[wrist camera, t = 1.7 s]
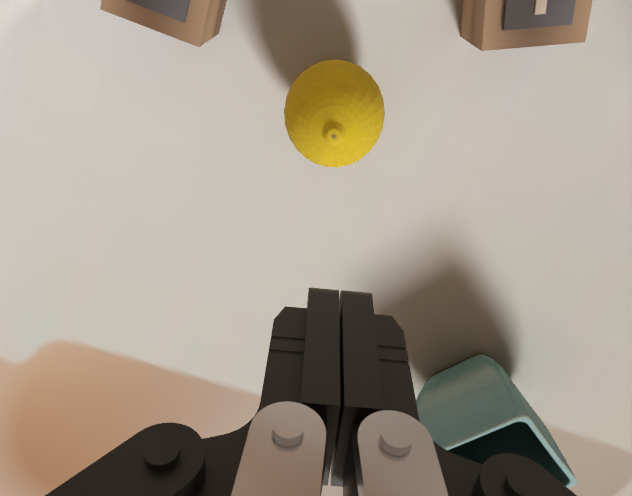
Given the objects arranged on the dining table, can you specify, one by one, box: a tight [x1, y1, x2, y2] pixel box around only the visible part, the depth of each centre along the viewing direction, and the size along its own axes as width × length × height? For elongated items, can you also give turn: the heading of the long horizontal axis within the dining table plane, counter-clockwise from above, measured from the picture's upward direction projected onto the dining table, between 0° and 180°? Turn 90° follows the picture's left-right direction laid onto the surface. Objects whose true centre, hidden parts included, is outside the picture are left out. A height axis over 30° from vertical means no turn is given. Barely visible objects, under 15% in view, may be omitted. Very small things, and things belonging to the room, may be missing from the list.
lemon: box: [284, 59, 385, 167], centre depth 28 cm, size 6×6×8 cm
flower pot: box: [416, 354, 578, 488], centre depth 39 cm, size 9×9×9 cm
